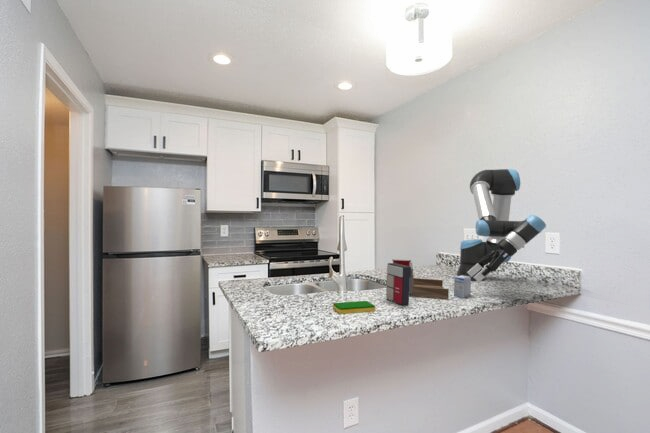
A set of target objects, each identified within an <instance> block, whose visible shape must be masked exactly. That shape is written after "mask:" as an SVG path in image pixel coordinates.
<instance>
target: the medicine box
mask: <svg viewBox="0 0 650 433" xmlns="http://www.w3.org/2000/svg"><path fill="white" fill-rule="evenodd" d="M453 280H454V282H453V297H454V298H455V297H456V298H461V299H464V298H467V297H470V296H471V290H472V289H471V287H472V286H471V284H472V280H471V277H469V276H463V275H461V276H457V275H456V276H455V277H454V278H453Z"/></svg>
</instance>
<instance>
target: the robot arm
mask: <svg viewBox="0 0 650 433" xmlns="http://www.w3.org/2000/svg"><path fill="white" fill-rule="evenodd" d="M520 188H521V178H520V174H519V171H517V170H516V169H511V168H510V169H509V168H505V169H503V168H502V169H501V168H500V169H483V170H481V171H479V172H478V173H475V175H474V176H472V178H471V180H470V183H469V191H470V193H471V194H472V195H473V198H474V203H475V208H476V212H477V217H478V220H476V222H475V233H476V235H477V236H479V237H486V241H483V240H482V239H481V238H480V239H478V238H477V239H476V238H475V239H473V238H472V239H465V240H462V241H460V248H459V250H460V254H459V255H460V256H459V260H460V261H459V266H458V270H457V271H456V277H457V276H461V275H463V276H469V277H471V281H476V282H477V283H480V282H481V281H485V280H486V277H487V276H488V275H489V274H491V273H493V272H496V271H497V269H499V267H500V266H501V265H502V264H503V263H508V262H510V260H511V259H512V257H513V256H514V255H515V254H516V253H517V252H518V251H520V250H521V249H522V248H523V249H524V248H525V245H527V244H528V243H529V242H530V241H532V240H533V239H534V238H535V237H537V236H538V235H539V234H540V233H542V231H543V230H544V229H546V228H547V224H546V223H545V221H544V220H543V219H542V218H540V217H539V216H537V215H535V214H531V215H529V216H528V217H526V218H525V219H524V220H510V211H511V202H512V197H514V196H515V195H516V192H517V191H519V190H520ZM491 195H492V196H493V200H492V198H491Z"/></svg>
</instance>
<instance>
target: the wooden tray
mask: <svg viewBox="0 0 650 433" xmlns="http://www.w3.org/2000/svg"><path fill="white" fill-rule="evenodd" d="M409 266H410V267H411V276H410V278H409V297H418V298H426V299H427V298H429V299H441V300H449V288H444V286H443V285H444V283H443V282H444V280H443V279H433V278H431V279H430V278H420V277H419V278H417V277H415V276H414V275H415V274H414V267H413V262H409Z"/></svg>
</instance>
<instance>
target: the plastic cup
mask: <svg viewBox="0 0 650 433" xmlns="http://www.w3.org/2000/svg"><path fill="white" fill-rule="evenodd" d="M391 260H392V263H397V264H401V265H405V266H409V262H411V261H412V259H406V258H391ZM411 263H412V262H411Z"/></svg>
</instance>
